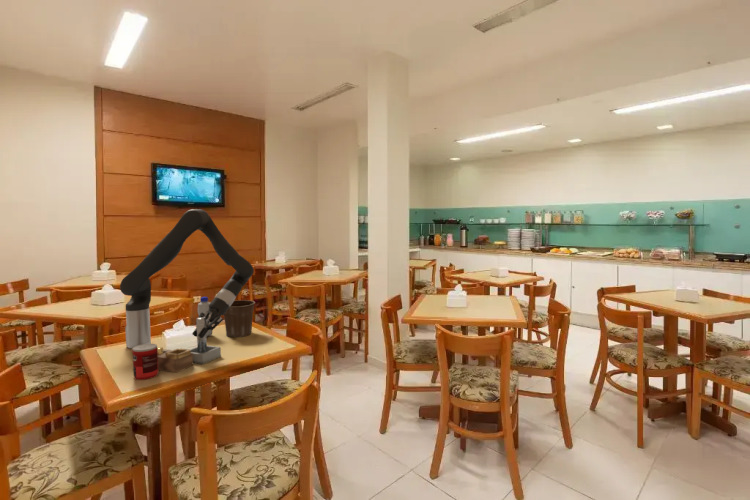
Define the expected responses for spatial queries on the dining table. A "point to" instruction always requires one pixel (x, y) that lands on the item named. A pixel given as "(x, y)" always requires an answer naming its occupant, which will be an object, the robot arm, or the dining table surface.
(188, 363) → the socket block
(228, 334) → the plant pot
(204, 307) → the bottle
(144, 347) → the canned food
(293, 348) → the dining table surface
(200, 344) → the rod
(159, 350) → the release plunger
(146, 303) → the robot arm
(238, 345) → the dining table surface
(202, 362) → the tray
